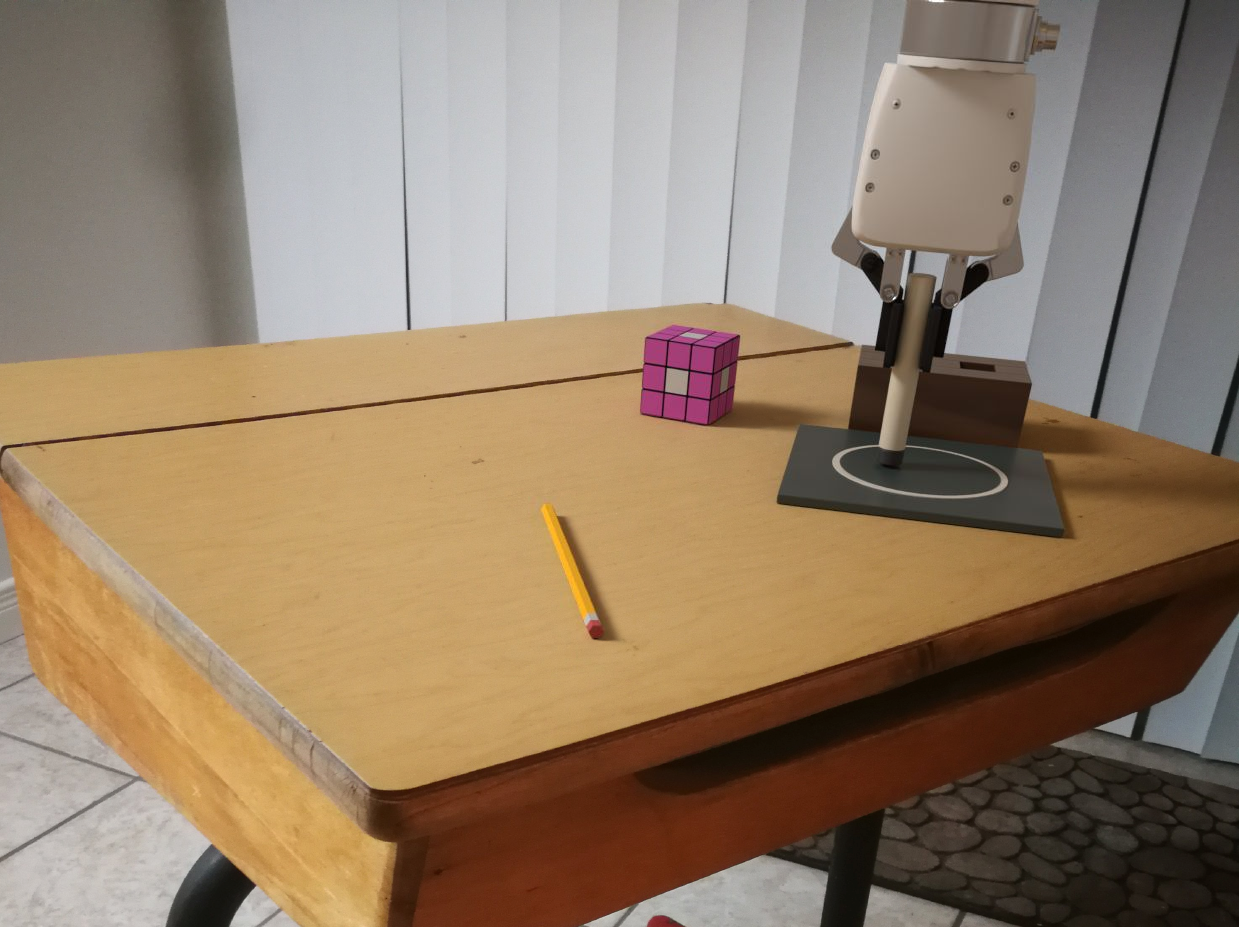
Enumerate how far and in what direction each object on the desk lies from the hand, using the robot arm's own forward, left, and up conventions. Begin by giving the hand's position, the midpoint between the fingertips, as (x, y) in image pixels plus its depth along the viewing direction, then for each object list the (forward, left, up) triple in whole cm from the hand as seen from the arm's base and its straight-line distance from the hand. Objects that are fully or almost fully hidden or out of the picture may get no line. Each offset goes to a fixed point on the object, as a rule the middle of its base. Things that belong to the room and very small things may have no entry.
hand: (906, 363), depth 85 cm
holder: (-3, -14, -8) cm, 16 cm away
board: (-2, 0, -8) cm, 8 cm away
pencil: (+17, +25, -8) cm, 31 cm away
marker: (0, 0, -7) cm, 7 cm away
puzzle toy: (+16, -11, -8) cm, 21 cm away
